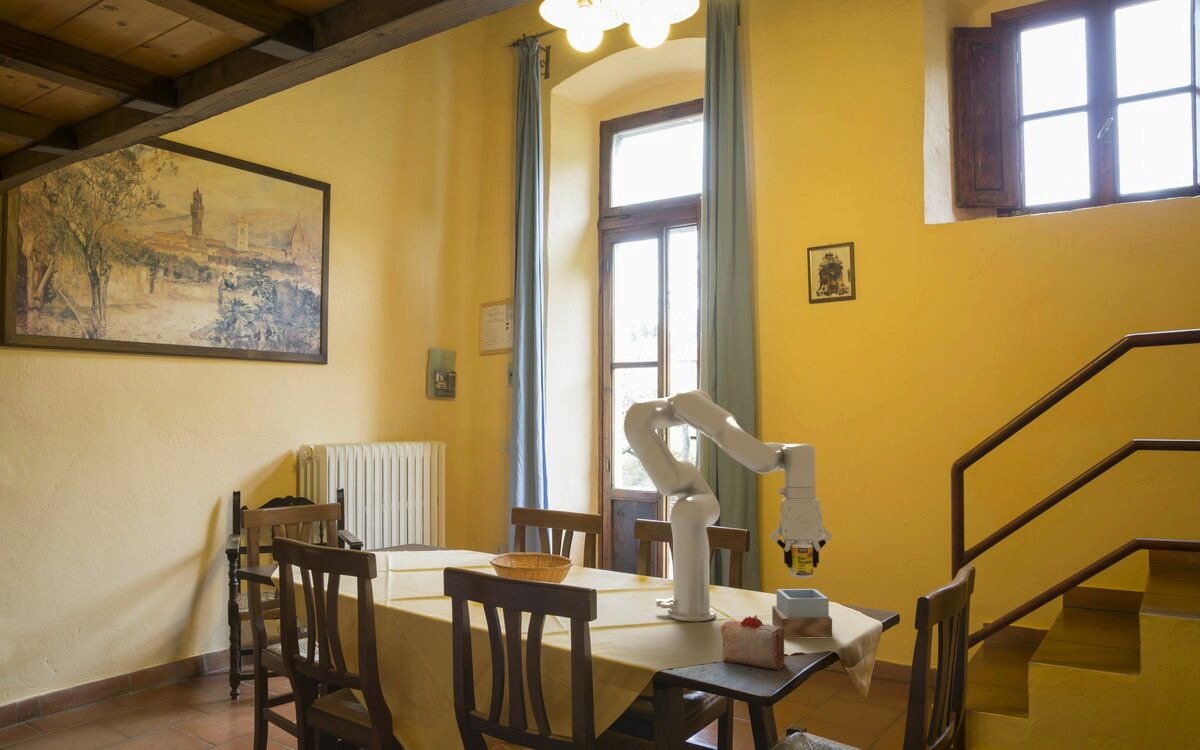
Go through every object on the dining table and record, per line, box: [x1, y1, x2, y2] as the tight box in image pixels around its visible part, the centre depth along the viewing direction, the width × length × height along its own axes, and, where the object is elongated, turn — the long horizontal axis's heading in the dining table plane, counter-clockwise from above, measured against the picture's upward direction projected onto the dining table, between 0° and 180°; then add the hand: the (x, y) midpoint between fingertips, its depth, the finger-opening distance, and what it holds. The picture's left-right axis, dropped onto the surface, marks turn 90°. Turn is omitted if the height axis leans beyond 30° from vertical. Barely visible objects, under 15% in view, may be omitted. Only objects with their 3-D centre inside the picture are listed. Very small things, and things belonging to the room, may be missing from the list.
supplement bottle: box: [789, 540, 814, 579], centre depth 202 cm, size 6×6×10 cm
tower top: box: [776, 588, 830, 618], centre depth 202 cm, size 10×10×4 cm
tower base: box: [771, 605, 833, 638], centre depth 202 cm, size 12×12×5 cm
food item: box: [720, 614, 785, 671], centre depth 178 cm, size 14×8×10 cm, turn 60°
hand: (801, 565), depth 202 cm, fingers closed on supplement bottle, 5 cm apart
